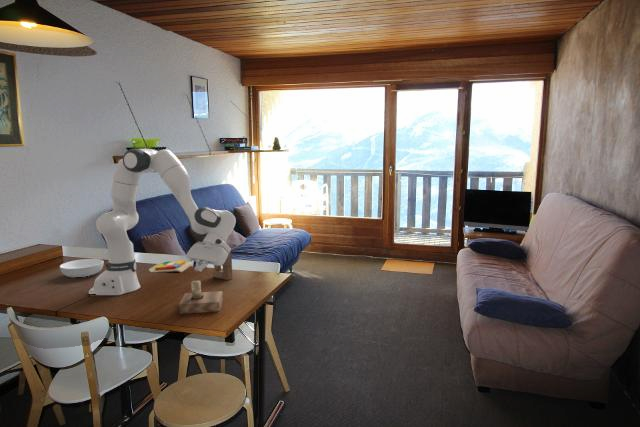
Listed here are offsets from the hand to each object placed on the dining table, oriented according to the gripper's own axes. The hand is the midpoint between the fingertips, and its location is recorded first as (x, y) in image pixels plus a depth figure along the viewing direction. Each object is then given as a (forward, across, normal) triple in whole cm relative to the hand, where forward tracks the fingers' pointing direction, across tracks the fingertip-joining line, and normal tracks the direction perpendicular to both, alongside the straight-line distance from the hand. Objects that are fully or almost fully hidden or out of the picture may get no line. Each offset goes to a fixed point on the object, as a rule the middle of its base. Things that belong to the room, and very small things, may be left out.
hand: (197, 270), depth 186 cm
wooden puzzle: (-12, -61, +36) cm, 71 cm away
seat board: (+11, +2, +11) cm, 16 cm away
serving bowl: (+11, -91, +12) cm, 93 cm away
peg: (+12, 0, +10) cm, 16 cm away
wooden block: (-13, -21, +36) cm, 43 cm away
